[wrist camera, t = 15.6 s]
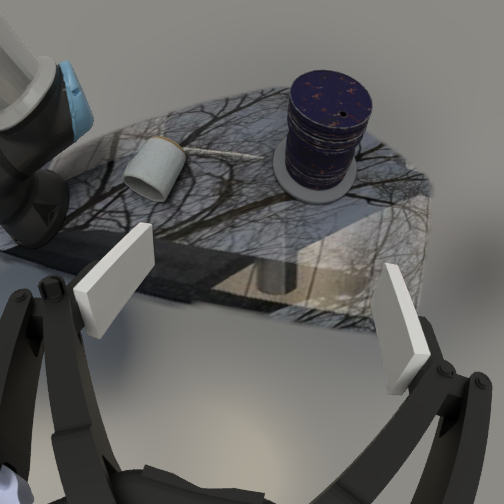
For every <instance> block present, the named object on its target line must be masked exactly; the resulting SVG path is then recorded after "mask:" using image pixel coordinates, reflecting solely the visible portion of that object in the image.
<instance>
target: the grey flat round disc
mask: <svg viewBox="0 0 504 504" xmlns="http://www.w3.org/2000/svg"><path fill="white" fill-rule="evenodd" d="M286 139H287V137H285V138H284V139H283V140H282V141H281V142H280V143H279V145H278V146H277V148H276V150H275V153H274V158H273V170H274V175H275V178H276V180H277V182H278V184H279V186H280V187H281V188H282V189H283V190H284V191H285V192H286V193H287V194H288V195H289V196H291V197H292V198H294V199H296V200H298V201H300V202H303V203H306V204H311V205H325V204H330V203H333V202H335V201H337V200H339V199H341V198H342V197H343V196H344V195H346V194H347V192H348V191H349V190H350V188H351V186H352V184H353V182H354V180H355V177H356V171H357V167H356V161H355V158H354V157H353V160H352V163H351V165H350V168H349V170H348V171H347V173H346V175H345V177H344V179H343V180H342V181H341V183H340V184H338V185H337V186H335V187H334V188H331V189H328V190H321V191H317V190H311V189H307V188H305V187H303V186H301V185H299V184H298V183H296V182H295V181H294V180H293V179H292V178H291V177H290V175H289V174H288V172H287V169H286V166H285V144H286Z"/></svg>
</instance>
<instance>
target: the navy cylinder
mask: <svg viewBox="0 0 504 504" xmlns="http://www.w3.org/2000/svg"><path fill="white" fill-rule="evenodd" d="M372 108H373V104H372V99H371V96H370V95H369V93H368V91H367V90H366V89H365V87H364V86H363V85H362V84H360V83H359V82H358V81H356V80H355V79H353V78H352V77H350V76H348V75H345V74H343V73H340V72H336V71H331V70H314V71H310V72H307V73H304V74H302V75H300V76H299V77H298V78H296V79H295V81H294V82H293V84H292V85H291V88H290V99H289V104H288V115H287V121H288V127H289V132H288V134H287V139H286V144H285V166H286V169H287V172H288V174H289V175H290V177H291V178H292V179H293V180H294V181H295V182H296V183H298V184H299V185H301V186H303V187H305V188H307V189H311V190H317V191H321V190H328V189H331V188H334V187H335V186H337V185H338V184H340V183H341V181H342V180H343V179H344V177H345V175H346V173H347V171H348V170H349V168H350V165H351V163H352V160H353V157H354V153H355V147H356V146H357V145H358V144H359V143H360V141H361V139H362V138H363V134H364V132H365V130H366V128H367V124H368V120H369V118H370V115H371V113H372Z"/></svg>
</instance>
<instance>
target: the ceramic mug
mask: <svg viewBox="0 0 504 504" xmlns="http://www.w3.org/2000/svg"><path fill="white" fill-rule="evenodd" d="M185 160H186V155H185V153H184V151H183V149H182V148H181V147H180V146H179V145H178V144H177V143H176V142H174V141H172V140H171V139H168V138H166V137H162V136H154V137H151V138H150V139H149V140H148V141H147V142H146V143H145V144H144V145H143V146H142V148H141V149H140V151H139V152H138V154H137V155H136V156H135V157H134V158H133V159H132V160H131V161H130V163H129V164H128V165H127V167H126V169H125V172H124V175H123V181H124V182H125V184H126V185H127V186H129V187H130V188H131V189H132V190H134V191H135V192H136V193H138V194H140V195H141V196H143V197H146V198H148V199H150V200H153V201H157V202H164V201H165V200H166V199H167V197H168V195H169V193H170V191H171V189H172V187H173V185H174V183H175V181H176V179H177V177H178V175H179V173H180V172H181V170H182V168H183V166H184V163H185Z"/></svg>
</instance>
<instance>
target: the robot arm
mask: <svg viewBox="0 0 504 504" xmlns="http://www.w3.org/2000/svg"><path fill="white" fill-rule="evenodd" d="M93 122H94V118H93V114H92V111H91V109H90V106H89V104H88V102H87V99H86V97H85V94H84V92H83V90H82V87H81V85H80V83H79V80H78V78H77V76H76V74H75V71H74V69H73V67H72V65H71V63H70V62H69V61H64V62H61V63H59V64H58V66H57V65H56V63H55V62H54V61H53V60H52V59H51V58H50V57H46V56H42V57H35V56H34V55H33V53H32V52H31V51H30V50H29V48H28V47H27V46H26V44H25V43H24V42H23V40H22V39H21V38H20V37H19V35H18V34H17V33H16V31H15V30H14V29H13V27H12V26H11V25H10V23H9V22H8V21H7V19H6V18H5V16H4V15H3V14H2V12H1V11H0V225H1V226H2V227H3V228H4V229H5V231H6V232H7V233H8V234H9V235H10V236H11V238H12V239H13V240H14V241H15V242H16V243H18V244H19V245H21V246H24V247H26V248H30V249H34V248H38V247H41V246H43V245H44V244H46V243H47V242H48V241H49V240H51V239H52V237H53V236H54V235H55V234H56V233H57V231H58V230H59V228H60V226H61V225H62V223H63V221H64V218H65V216H66V213H67V209H68V204H69V191H68V187H67V184H66V182H65V181H64V179H63V178H61V177H60V176H59V175H58V174H57V173H55V172H53V171H51V170H43V169H41V167H42V166H44V165H45V164H46V163H48V162H49V161H50V160H51V159H53V158H54V157H55V156H57V155H58V154H59V153H61V152H62V151H63V150H65V149H66V148H68V147H69V146H70V145H72V144H73V143H75V142H77V140H78V139H79V138H80V137H81V136H83V135H84V134H85V133H86V132H88V131H89V130H90V129H91V127H92V125H93ZM154 265H155V263H154V250H153V235H152V224H148V223H141V222H140V223H139V224H138V225H137V226H136V227H135V228H134V229H133V230H131V231H130V232H129V233H128V234H127V235H126V236H125V237H124V238H123V239H122V240H121V241H120V242H119V243H118V244H117V245H116V246H115V247H114V248H113V249H112V250H111V251H110V252H109V253H108V254H106V255H105V256H104V257H103V258H102V259H101V260H100V261H99V260H95V261H93V262H91V263H89V264H88V265H87V266H86V267H85V268H84V269H83V270H82V271H81V272H80V273H79V274H78V276H76V277H75V278H74V279H73V280H72V281H71V282H70V283H69V284H68V285H67V286H66V285H65V282H64V279H63V277H62V276H60V275H50V276H47V277H45V278H44V279H42V280H41V281H40V282H39V285H38V288H39V291H40V294H41V297H42V298H33V296H32V293H31V291H30V290H28V289H19V290H17V291H15V292H14V293H13V294H12V295H11V296H10V298H9V300H8V302H7V304H6V307H5V310H4V312H3V314H2V316H1V319H0V504H32V503H33V502H34V496H33V494H32V492H31V488H30V486H29V484H28V483H27V481H28V476H29V471H30V456H31V439H32V427H33V417H34V408H35V400H36V393H37V386H38V380H39V375H40V369H41V364H42V358H43V353H44V352H45V365H46V375H47V383H48V392H49V399H50V406H51V412H52V418H53V423H54V429H55V433H54V434H52V436H51V440H52V446H53V451H54V455H55V459H56V463H57V467H58V471H59V474H60V478H61V482H62V485H63V489H64V492H65V495H66V496H65V497H63V498H61V499H58V500H56V501H53V502H51V503H48V504H276V503H273V502H272V501H270V500H267V499H264V495H265V493H261V492H254V491H247V490H242V489H236V488H222V489H206V488H200V487H198V486H196V485H194V484H192V483H190V482H188V481H186V480H184V479H182V478H180V477H179V476H177V475H175V474H173V473H170V472H167V471H164V470H160V469H157V468H154V467H151V466H148V465H145V466H144V469H143V470H140V469H138V470H135V469H133V470H125V471H121V469H120V467H119V465H118V463H117V461H116V459H115V457H114V455H113V452H112V449H111V446H110V443H109V440H108V438H107V434H106V431H105V428H104V425H103V422H102V419H101V415H100V412H99V408H98V405H97V401H96V397H95V394H94V390H93V386H92V382H91V377H90V374H89V369H88V365H87V360H86V355H85V350H84V345H83V340H82V335H81V332H80V331H81V330H82V328H83V327H84V326H85V329H86V332H87V335H89V336H92V337H95V338H98V339H101V337H102V336H103V334H104V333H105V332H106V330H107V328H108V327H109V326H110V325H111V323H112V321H113V320H114V319H115V317H116V316H117V315H118V313H119V312H120V311H121V309H122V308H123V306H124V305H125V304H126V302H127V301H128V300H129V298H130V297H131V295H132V294H133V293H134V291H135V290H136V289H137V287H138V286H139V285H140V283H141V282H142V281H143V279H144V278H145V277H146V275H147V274H148V273H149V272H150V270H151V269H152V268H153V266H154ZM370 303H371V308H372V312H373V317H374V322H375V327H376V332H377V337H378V342H379V347H380V353H381V358H382V364H383V370H384V376H385V383H386V389H387V395H403V393H404V392H405V390H406V389H407V388H408V389H409V396H408V397H407V398H406V400H405V401H404V402H403V404H402V405H401V406H400V407H399V409H398V411H397V412H396V413H395V414H394V416H393V417H392V418H391V419H390V421H389V422H388V423H387V424H386V425H385V427H384V428H383V429H382V430H381V431H380V433H379V434H378V435H377V436H376V437H375V438H374V440H373V441H372V442H371V443H370V444H369V445H368V446H367V448H366V449H365V450H364V451H363V452H362V453H361V454H360V455H359V456H358V457H357V458H356V459H355V461H353V463H352V464H351V465H350V466H349V467H348V468H347V469H346V470H345V471H344V472H343V473H342V474H341V475H340V476H339V477H338V478H337V479H336V480H335V481H334V482H332V484H330V485H329V486H328V487H327V488H326V489H325V490H324V491H323V492H322V493H321V494H320V495H319V496H317V497H316V498H315V499H314V500H313V501H312V502H311V503H309V504H371V503H372V502H373V501H374V500H375V499H376V497H377V496H378V495H379V494H380V493H381V491H382V490H383V489H384V488H385V487H386V485H387V484H388V483H389V481H390V480H391V479H392V478H393V477H394V475H395V474H396V473H397V471H398V470H399V469H400V467H401V466H402V465H403V463H404V462H405V461H406V459H407V458H408V457H409V455H410V454H411V452H412V451H413V449H414V448H415V447H416V445H417V444H418V442H419V441H420V439H421V438H422V436H423V434H424V433H425V431H426V430H427V428H428V427H429V425H430V423H431V422H432V420H433V418H434V417H435V415H438V416H440V419H439V422H438V426H437V430H436V433H435V437H434V440H433V444H432V447H431V450H430V453H429V456H428V459H427V462H426V465H425V468H424V471H423V473H422V476H421V479H420V482H419V484H418V487H417V489H416V492H415V494H414V496H413V499H412V501H411V503H410V504H473V503H474V500H475V496H476V492H477V489H478V485H479V480H480V476H481V471H482V466H483V461H484V455H485V450H486V444H487V438H488V429H489V422H490V412H491V400H492V383H491V381H490V379H489V378H488V377H487V375H485V374H484V373H481V372H474V373H473V374H472V375H471V376H470V377H469V378H467V377H464V376H461V375H458V374H456V370H455V368H454V367H453V365H452V364H450V363H449V362H448V361H446V360H444V359H443V356H442V353H441V350H440V347H439V345H438V342H437V340H436V336H435V334H434V331H433V328H432V326H431V324H430V323H429V321H428V320H427V319H426V318H425V317H422V316H417V313H416V311H415V308H414V305H413V303H412V300H411V297H410V295H409V292H408V290H407V287H406V285H405V282H404V280H403V277H402V275H401V273H400V270H399V268H398V265H394V264H388V263H385V265H384V267H383V270H382V273H381V276H380V278H379V281H378V284H377V286H376V289H375V292H374V294H373V297H372V299H371V302H370Z"/></svg>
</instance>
